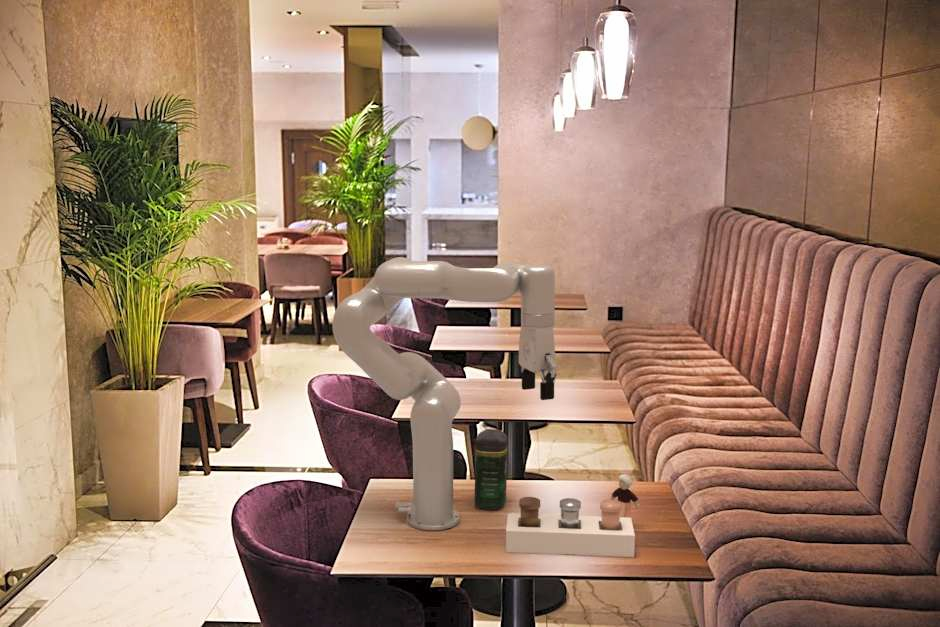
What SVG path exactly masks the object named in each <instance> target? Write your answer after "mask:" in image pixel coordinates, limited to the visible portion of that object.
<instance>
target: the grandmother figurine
mask: <svg viewBox="0 0 940 627" xmlns="http://www.w3.org/2000/svg"><path fill="white" fill-rule="evenodd" d="M633 484H634V482H633V480H632V478H631V477H630V476H629V475H628V474H623V473H622V474H620V475H619V476H618V486H619V487H617V488H616V489H615V490H614V491H613V492H612V494H611V497H610V498H609V500H616V498H617V500H616V501H619V502H621V503H622V510H621V511H620V517H625V518H632V508H631V507H632V505H631V502H632V503H634V505H635V508H636V509H639V508H641V506H640V502H639V498H638V497H637V495H636V494H635V493H634V492H633V491H631V490H630V489H629V488H630V487H631V486H632V485H633Z"/></svg>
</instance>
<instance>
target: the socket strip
mask: <svg viewBox="0 0 940 627" xmlns="http://www.w3.org/2000/svg"><path fill="white" fill-rule="evenodd" d="M601 518H602V516H595V515H593V516H592V515H579V529H566V528H561V514H541V513H539V515H538V527H521V526H520V521H521V513H515V512H513V513H512V512H511V513H507V520H506V527H505V528H506V529H505V530H506V531H505V553H518V554H519V553H523V554H540V553H541V554H542V555H543V554H546V555H565V554H575V555H574V556H590V555H592V557H593V556H595V557H619V558H620V557H621V558H622V557H623V558H635V542H636V540H635V539H636V535H635V530H634V525H633V521H632V517H630V518H625V517H620V522H619V530H601Z"/></svg>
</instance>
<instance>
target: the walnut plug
mask: <svg viewBox="0 0 940 627" xmlns="http://www.w3.org/2000/svg"><path fill="white" fill-rule="evenodd" d="M518 500H519V501H518V505H519V508H520V514H521V521H520V526H521V527H538V515H539V514H540V513H539V509H540V508H541V500H540V499H539V498H538V497H534V496H523V497H521V498H519V499H518Z"/></svg>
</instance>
